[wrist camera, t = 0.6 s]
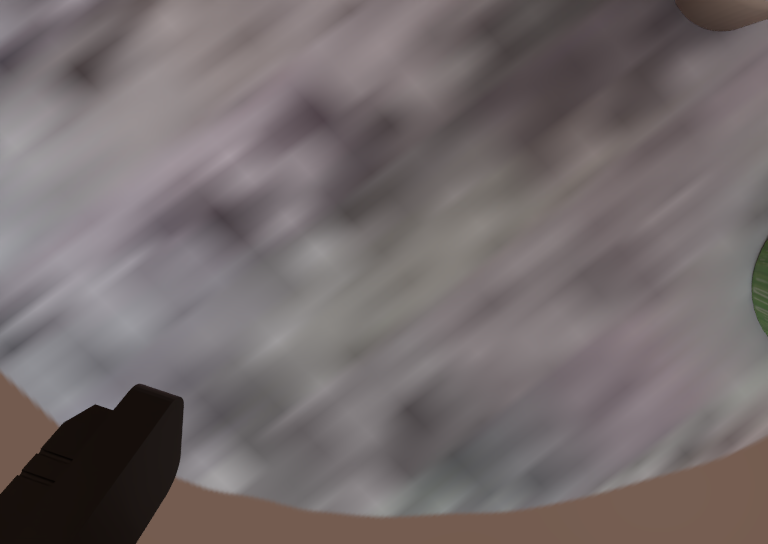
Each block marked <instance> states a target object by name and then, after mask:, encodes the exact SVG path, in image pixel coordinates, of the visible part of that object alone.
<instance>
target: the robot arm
mask: <svg viewBox="0 0 768 544" xmlns="http://www.w3.org/2000/svg"><path fill="white" fill-rule="evenodd" d="M183 410H184V402H183V399H182V398H181V397H179V396H176V395H173V394H170V393H167V392H164V391H161V390H158V389H155V388H152V387H149V386H146V385H143V384H137V385H135V386H134V387H133V388H131V390H130V391H129V392H128V393H127V394H126V395H125V397H124V398H123V399H122V400H121V402H120V403H119V404H118V405H117V406H116V408H115V409H114V410H110V409H107V408H104V407H101V406H98V405H96V404H95V405H93V406H92V407H90V408H88V409H86V410H85V411H83V412H81V413H79V414H78V415H76V416H74V417H73V418H71V419H69V420H67V421H66V422H64V423H63V424H62V425H61V426H60V427H59V429H58V430H57V431H56V432H55V433H54V434H53V435H52V437H51V438H50V439H49V440H48V441H47V442H46V443H45V444H44V446H43V447H42V448H41V451H40V453H39V454H36V455H35V456H34V457H33V458H32V459H31V460H30V461H29V462H28V464H27V465H26V466H25V467H24V468H23V469H22V472H21V474H20V475H19V476H18V475H17V476H16V477H15V478H14V479H13V481H12V482H11V483H10V484H9V485H8V486H7V487H6V489H5V490H4V491H3V492H2V493H1V494H0V544H136V543H137V541H138V539H139V538H140V536H141V535H142V533H143V531H144V530H145V528H146V527H147V525H148V524H149V522H150V520H151V519H152V517H153V516H154V514H155V512H156V511H157V509H158V508H159V506H160V504H161V502H162V501H163V499H164V498H165V496H166V495H167V493H168V491H169V489H170V487H171V485H172V483H173V481H174V478H175V476H176V473H177V470H178V467H179V463H180V456H181V441H182V425H183Z"/></svg>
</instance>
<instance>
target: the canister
mask: <svg viewBox="0 0 768 544" xmlns="http://www.w3.org/2000/svg"><path fill="white" fill-rule="evenodd" d="M674 1H675V3H676V4H677V6H678V8H679V9H680V11H681V12H682V13H683V14H684V15H685V17H686V18H687V19H689V20H690V21H691V22H693V23H694V24H696V25H698V26H700V27H702V28H704V29H708V30H712V31H730V30H735V29H738V28H742V27H745V26H748V25H751V24H754V23H757V22H760V21H763V20H766V19H768V0H674Z"/></svg>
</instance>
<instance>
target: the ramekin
mask: <svg viewBox="0 0 768 544" xmlns="http://www.w3.org/2000/svg"><path fill="white" fill-rule="evenodd" d="M752 300H753V304H754V310H755V313H756V316H757V319H758V321H759V323H760V325H761V327H762V329H763V330H764V332H765V333H766V334H767V336H768V240H767V241H766V242H765V245H764V247H763V248H762V250H761V252H760V255H759V257H758V260H757V262H756V265H755V269H754V273H753V279H752Z"/></svg>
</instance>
